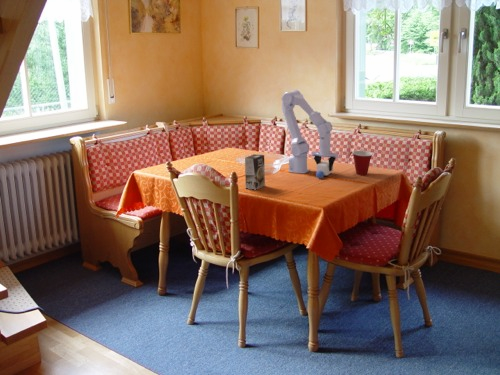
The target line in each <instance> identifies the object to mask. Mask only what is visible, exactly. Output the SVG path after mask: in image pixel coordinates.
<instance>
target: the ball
mask: <svg viewBox="0 0 500 375" xmlns="http://www.w3.org/2000/svg"><path fill="white" fill-rule="evenodd" d="M315 176H316V178H318V179H322V178H323V177H325V175H324V173H323V172H322V171H318V172H317V171H316V173H315Z"/></svg>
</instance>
